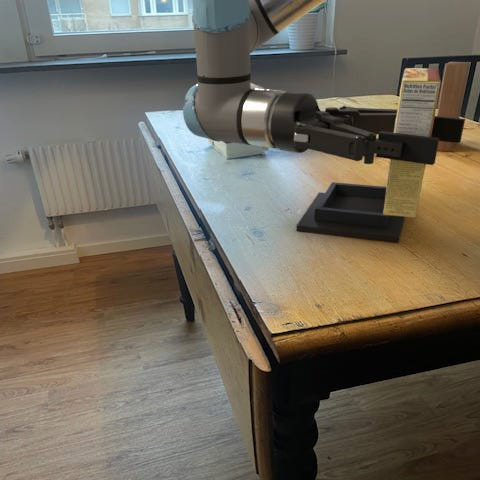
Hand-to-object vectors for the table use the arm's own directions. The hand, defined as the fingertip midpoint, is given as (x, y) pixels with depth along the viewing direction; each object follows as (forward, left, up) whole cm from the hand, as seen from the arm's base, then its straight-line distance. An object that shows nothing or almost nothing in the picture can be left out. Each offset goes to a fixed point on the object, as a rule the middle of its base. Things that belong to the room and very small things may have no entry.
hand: (449, 140), depth 58 cm
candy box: (+4, -1, -9) cm, 10 cm away
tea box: (+47, -53, -18) cm, 73 cm away
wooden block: (0, -66, -18) cm, 69 cm away
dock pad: (+12, -18, -18) cm, 28 cm away
